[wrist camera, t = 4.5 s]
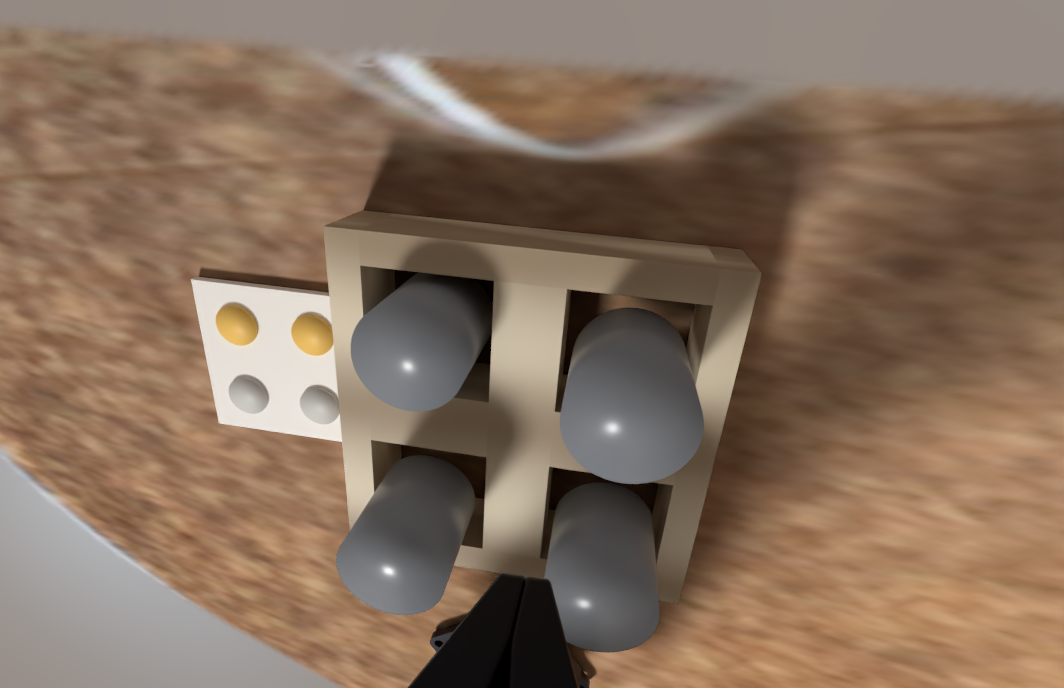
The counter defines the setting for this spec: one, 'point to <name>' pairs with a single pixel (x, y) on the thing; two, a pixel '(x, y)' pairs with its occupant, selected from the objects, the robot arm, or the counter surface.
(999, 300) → the counter surface
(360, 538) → the button
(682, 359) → the button
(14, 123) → the counter surface
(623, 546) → the button
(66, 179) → the counter surface
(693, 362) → the button board
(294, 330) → the pattern tile
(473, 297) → the button
